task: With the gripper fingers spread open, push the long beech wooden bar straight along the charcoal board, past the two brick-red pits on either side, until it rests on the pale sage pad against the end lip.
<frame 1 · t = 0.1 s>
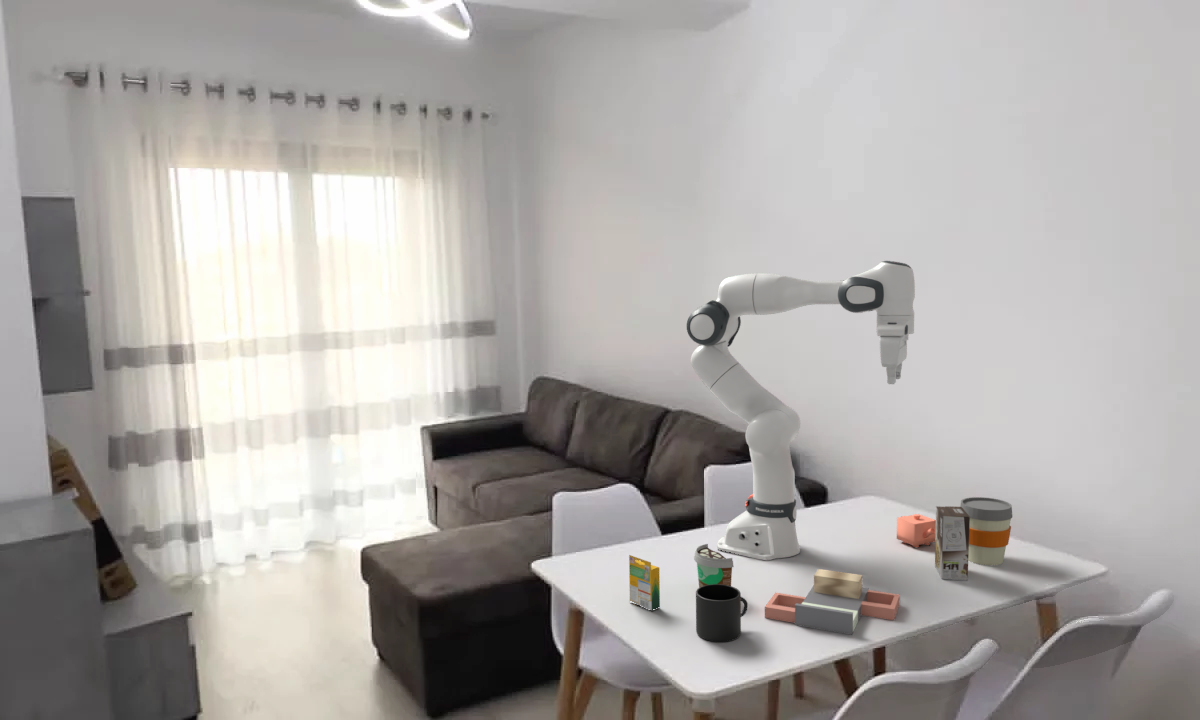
hand: (894, 381, 211), 48 cm above the table, tool pointing down, fingers open, 8 cm apart
pink cube teapot: (917, 545, 233), on the table
food container: (708, 593, 201), on the table
coffee box: (951, 574, 210), on the table
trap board: (832, 612, 189), on the table
beech bar: (838, 592, 194), point 2 cm above the table, touching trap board
crayon box: (644, 606, 195), on the table
reusable coffee cup: (984, 560, 220), on the table
mug: (723, 632, 180), on the table
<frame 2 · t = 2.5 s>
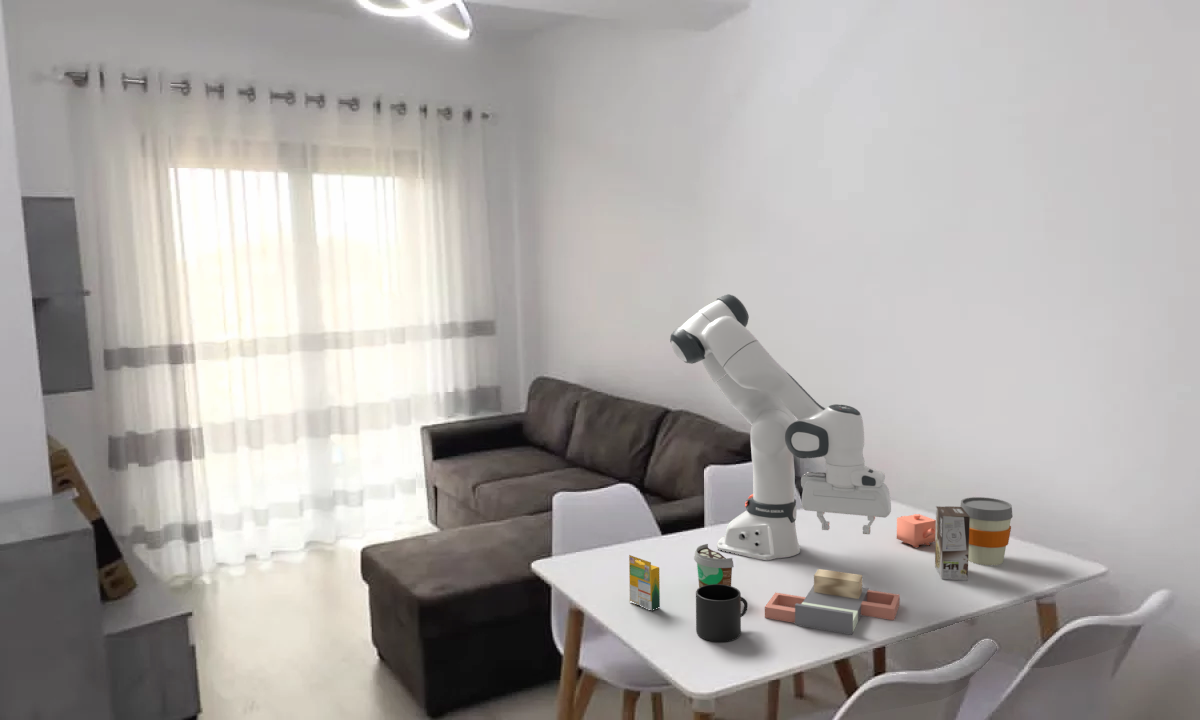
hand: (845, 531, 199), 15 cm above the table, tool pointing down, fingers open, 8 cm apart
nothing on the table moved.
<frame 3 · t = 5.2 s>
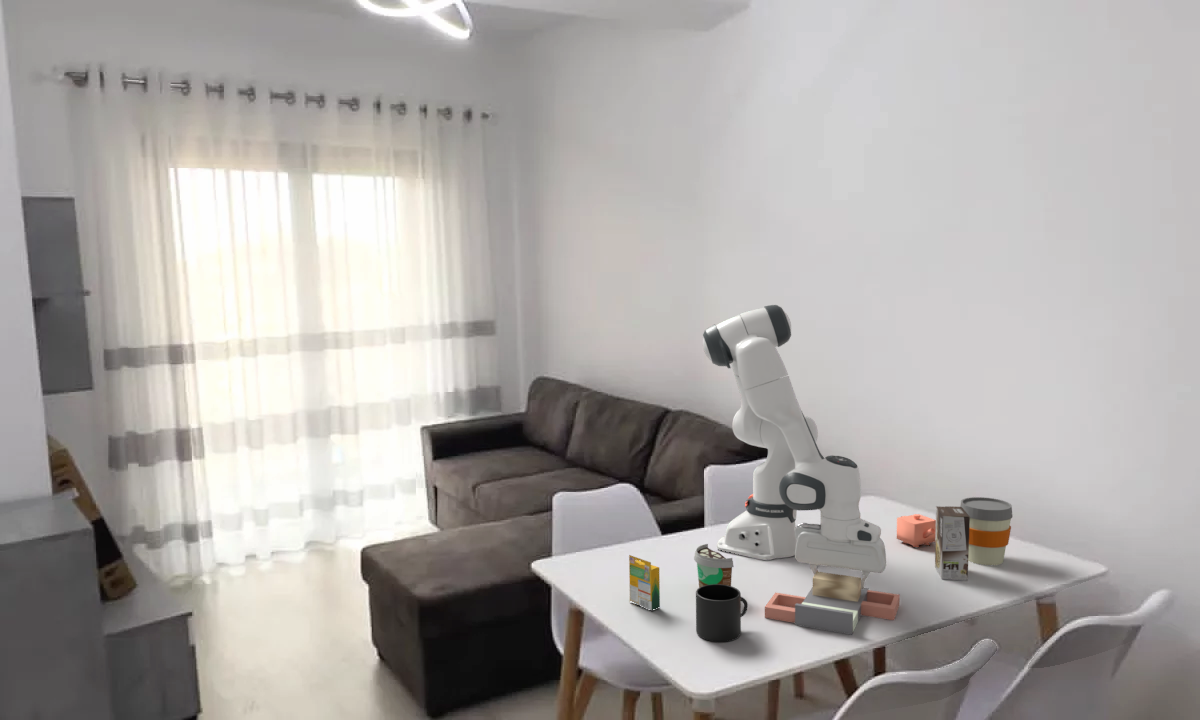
hand: (839, 585, 195), 4 cm above the table, tool pointing down
beech bar: (836, 594, 192), point 3 cm above the table, touching gripper, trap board
everything else where it was.
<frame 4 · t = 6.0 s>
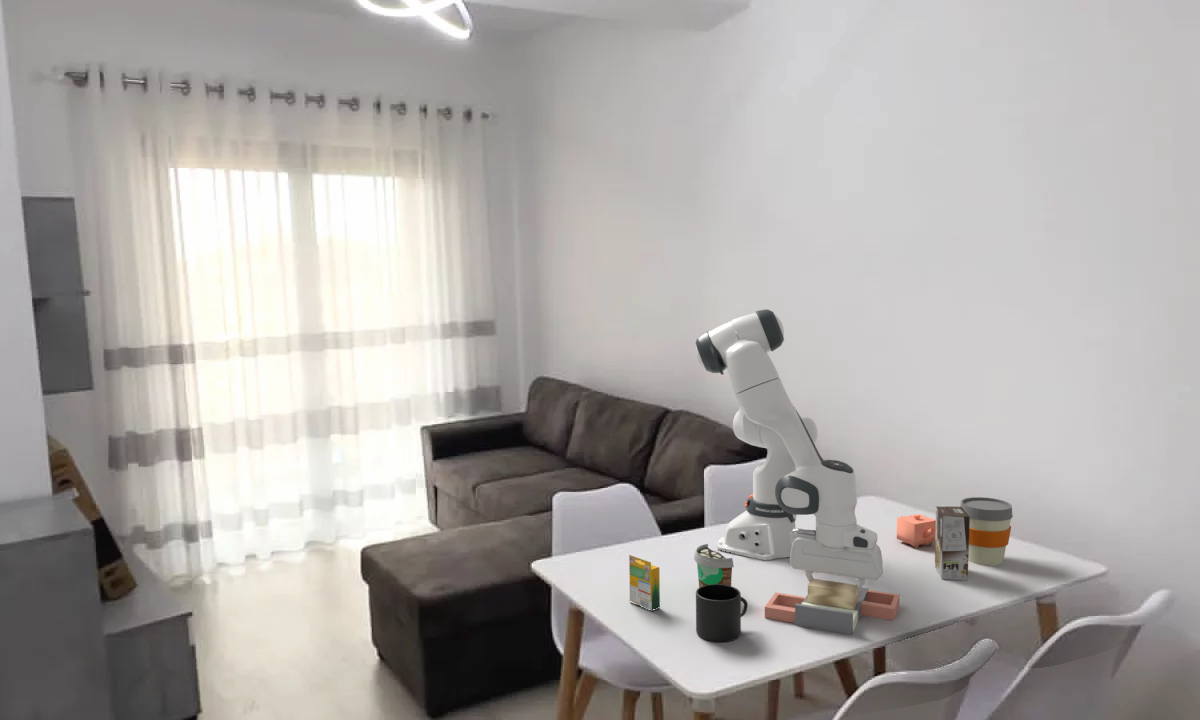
hand: (835, 592, 191), 4 cm above the table, tool pointing down
beech bar: (832, 602, 188), point 3 cm above the table, touching gripper
everything else where it was.
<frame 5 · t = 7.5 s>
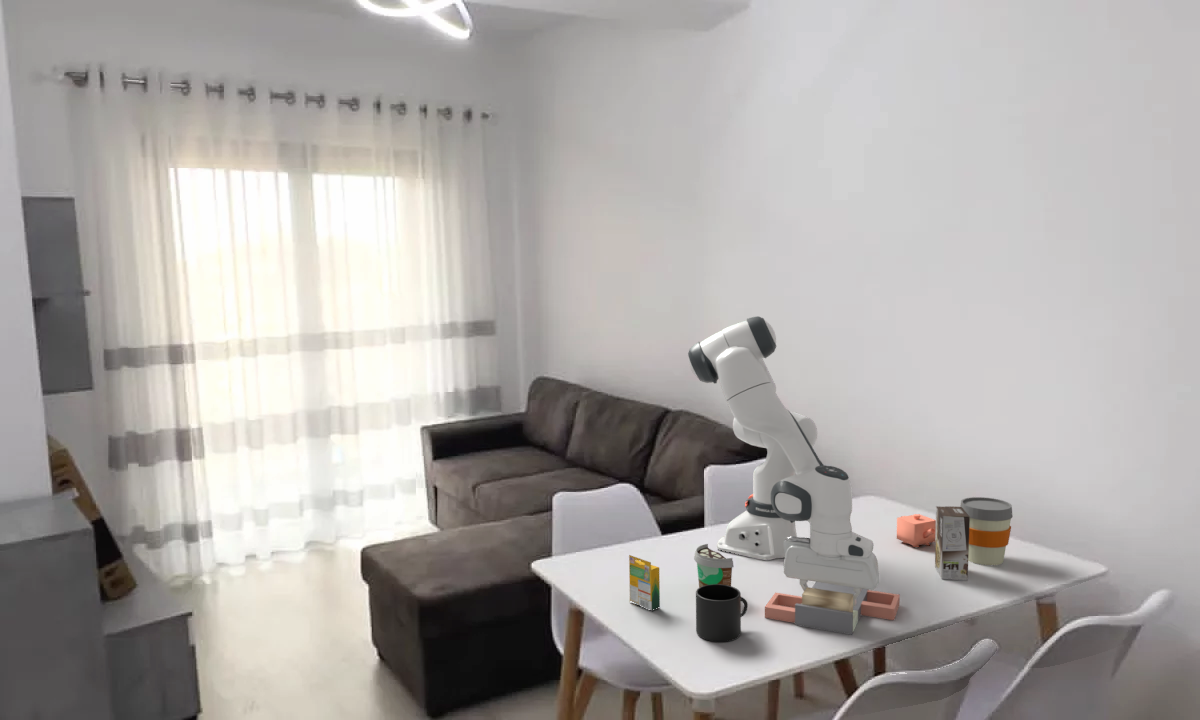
hand: (830, 601, 186), 4 cm above the table, tool pointing down
beech bar: (827, 611, 183), point 2 cm above the table, touching gripper, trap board
everything else where it was.
when the fingers open (4 cm above the table, at t = 8.1 s): beech bar stays where it is, resting on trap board.
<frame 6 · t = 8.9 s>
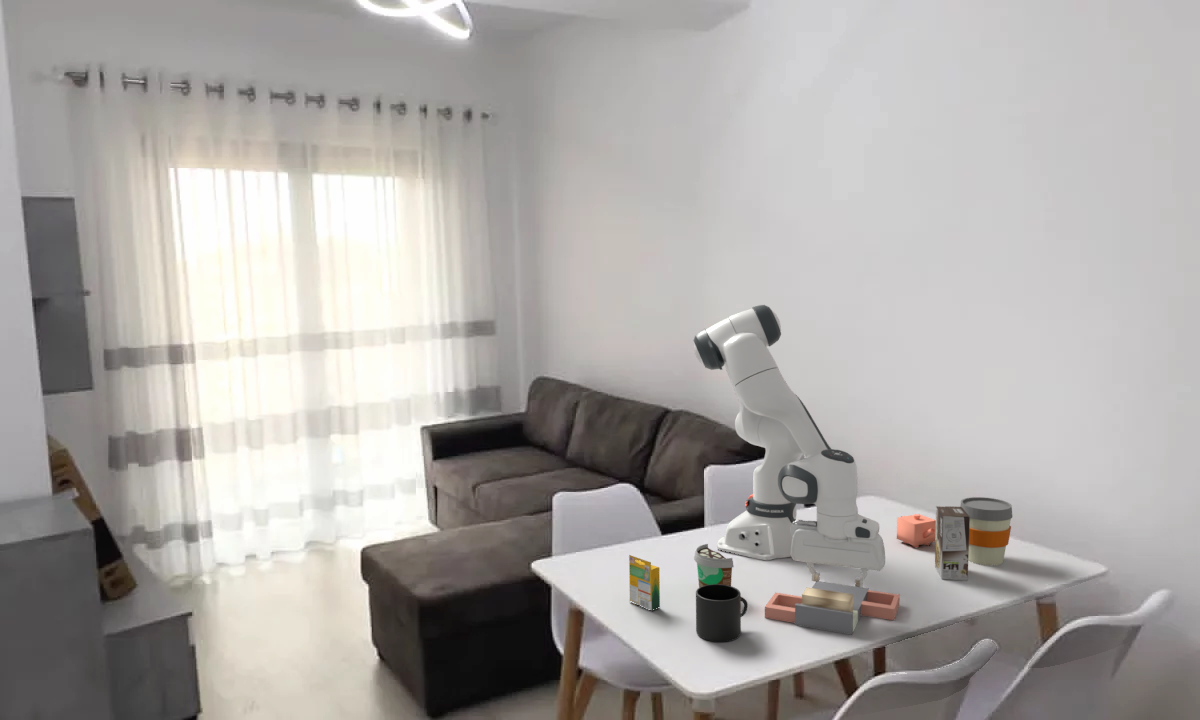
hand: (837, 583, 188), 7 cm above the table, tool pointing down, fingers open, 8 cm apart
beech bar: (827, 612, 183), point 2 cm above the table, touching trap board
everything else where it was.
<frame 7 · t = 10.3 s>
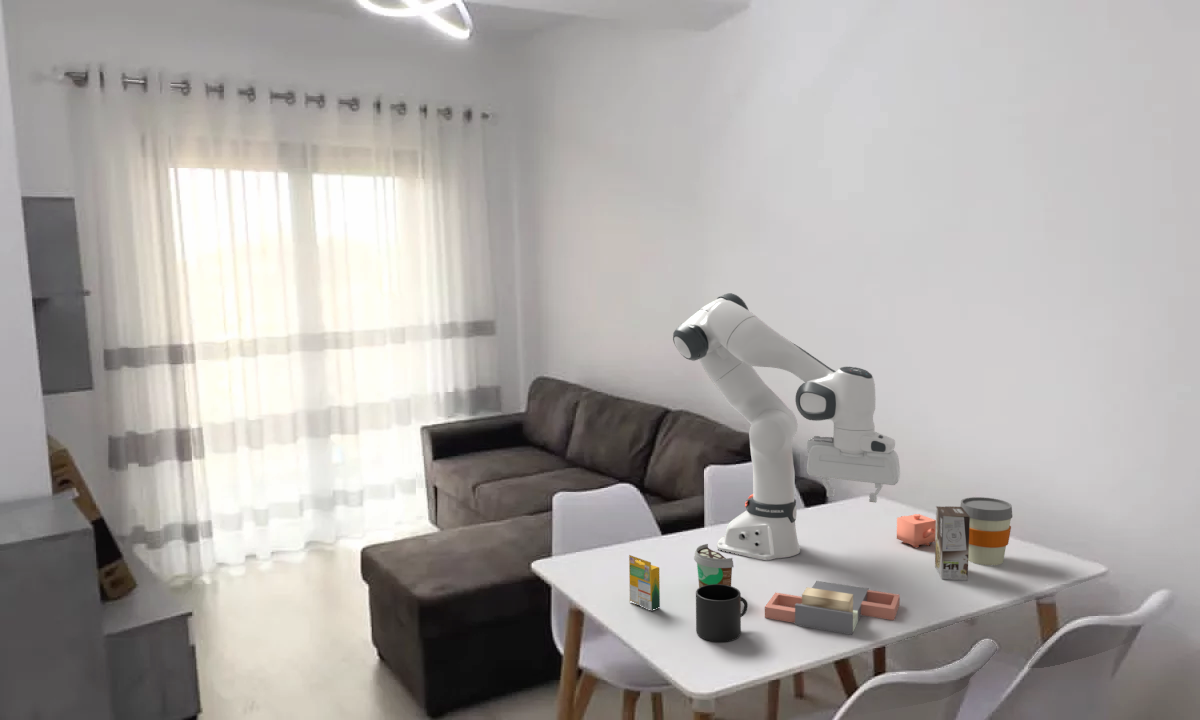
hand: (851, 499, 192), 24 cm above the table, tool pointing down, fingers open, 8 cm apart
nothing on the table moved.
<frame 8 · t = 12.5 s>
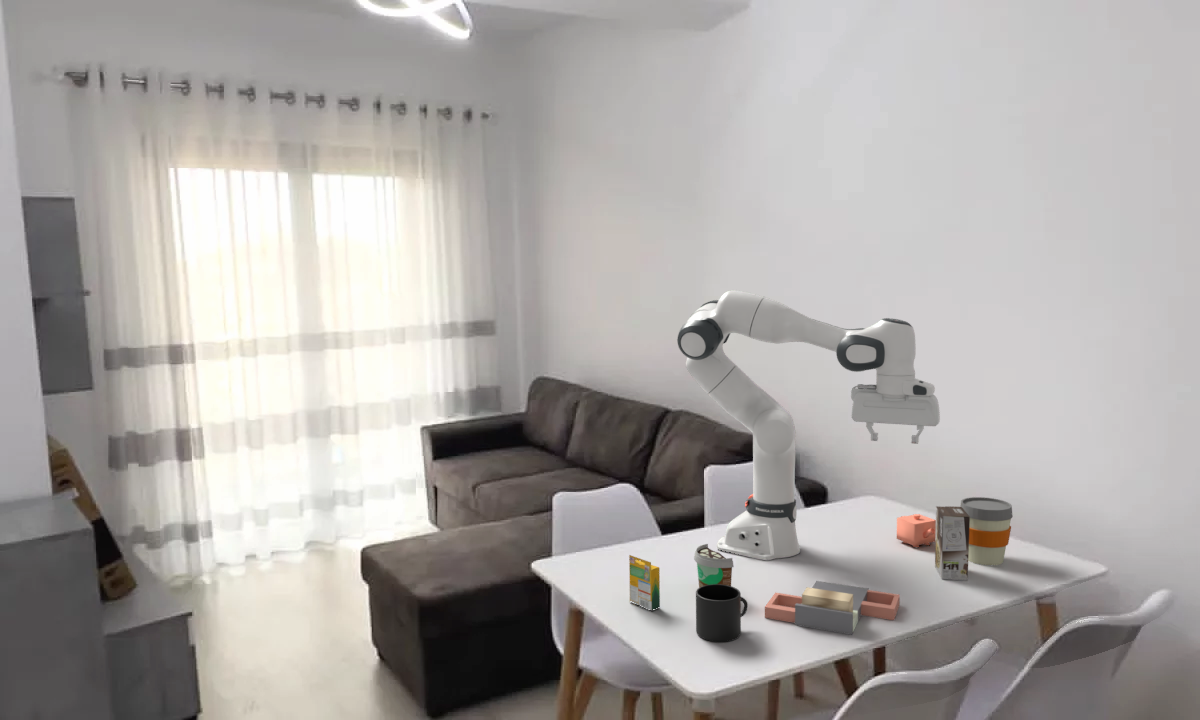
hand: (894, 441, 205), 34 cm above the table, tool pointing down, fingers open, 8 cm apart
nothing on the table moved.
at the end: beech bar 0.3 cm from the target spot on the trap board, point 2.5 cm above the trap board's base; beech bar tilted 0° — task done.
